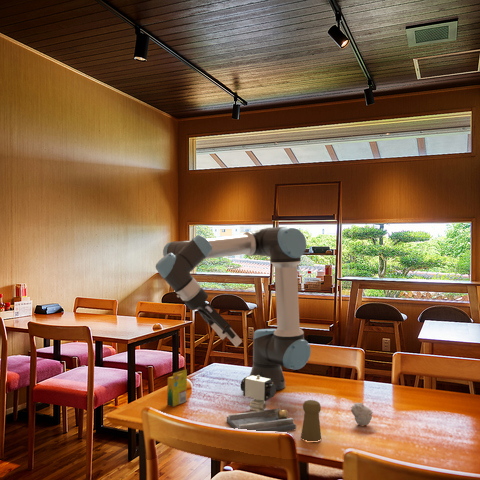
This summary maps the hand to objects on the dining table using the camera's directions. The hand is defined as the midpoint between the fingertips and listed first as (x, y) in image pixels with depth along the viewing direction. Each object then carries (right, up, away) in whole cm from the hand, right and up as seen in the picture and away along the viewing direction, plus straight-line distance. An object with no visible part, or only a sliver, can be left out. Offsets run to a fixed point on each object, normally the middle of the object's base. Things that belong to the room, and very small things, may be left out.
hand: (231, 340), depth 153 cm
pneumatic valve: (+9, -25, +3) cm, 27 cm away
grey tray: (+9, -24, -11) cm, 28 cm away
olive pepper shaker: (+24, -25, -21) cm, 40 cm away
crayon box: (-20, -24, +7) cm, 32 cm away
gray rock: (+42, -25, -9) cm, 50 cm away
